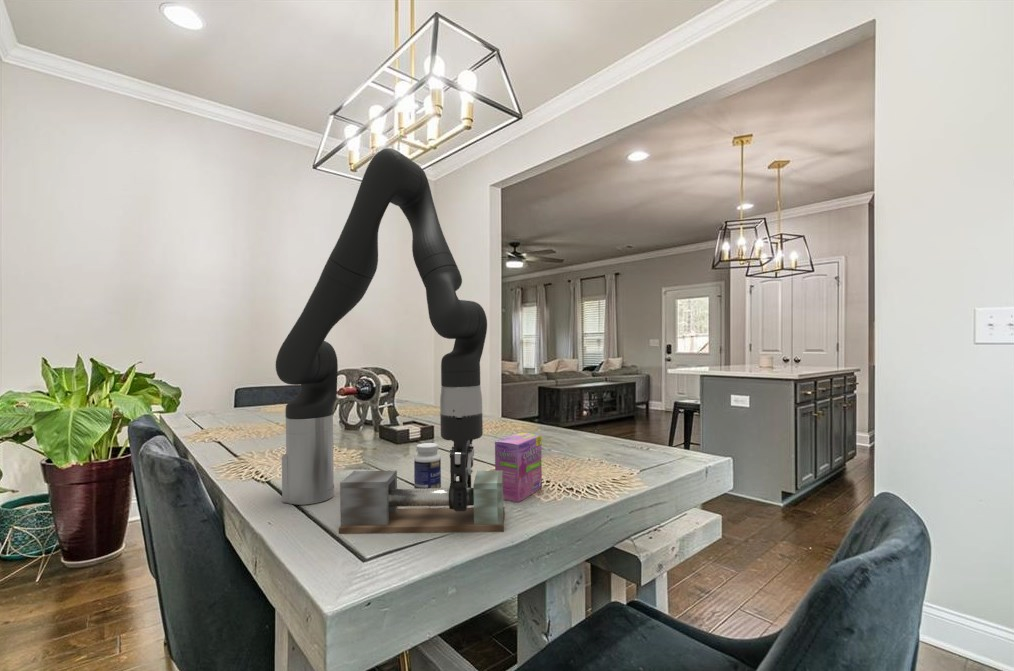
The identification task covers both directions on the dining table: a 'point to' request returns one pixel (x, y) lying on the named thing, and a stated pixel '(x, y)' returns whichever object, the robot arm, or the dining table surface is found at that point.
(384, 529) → the rail base
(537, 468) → the box
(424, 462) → the pill bottle
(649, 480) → the dining table surface
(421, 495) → the tube
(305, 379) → the robot arm
